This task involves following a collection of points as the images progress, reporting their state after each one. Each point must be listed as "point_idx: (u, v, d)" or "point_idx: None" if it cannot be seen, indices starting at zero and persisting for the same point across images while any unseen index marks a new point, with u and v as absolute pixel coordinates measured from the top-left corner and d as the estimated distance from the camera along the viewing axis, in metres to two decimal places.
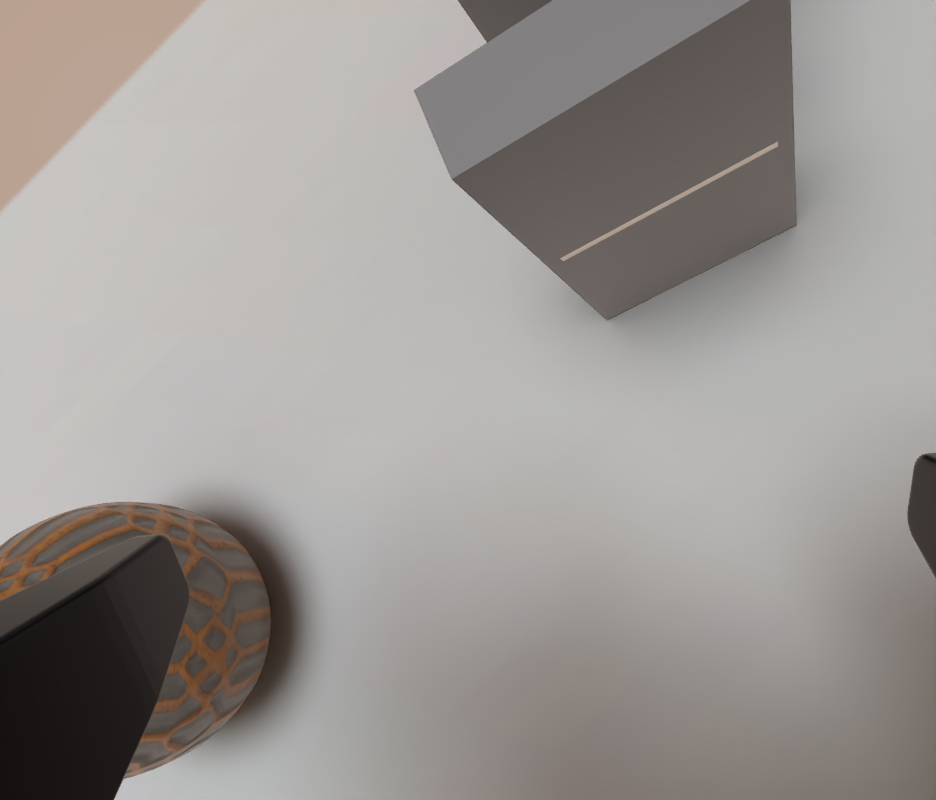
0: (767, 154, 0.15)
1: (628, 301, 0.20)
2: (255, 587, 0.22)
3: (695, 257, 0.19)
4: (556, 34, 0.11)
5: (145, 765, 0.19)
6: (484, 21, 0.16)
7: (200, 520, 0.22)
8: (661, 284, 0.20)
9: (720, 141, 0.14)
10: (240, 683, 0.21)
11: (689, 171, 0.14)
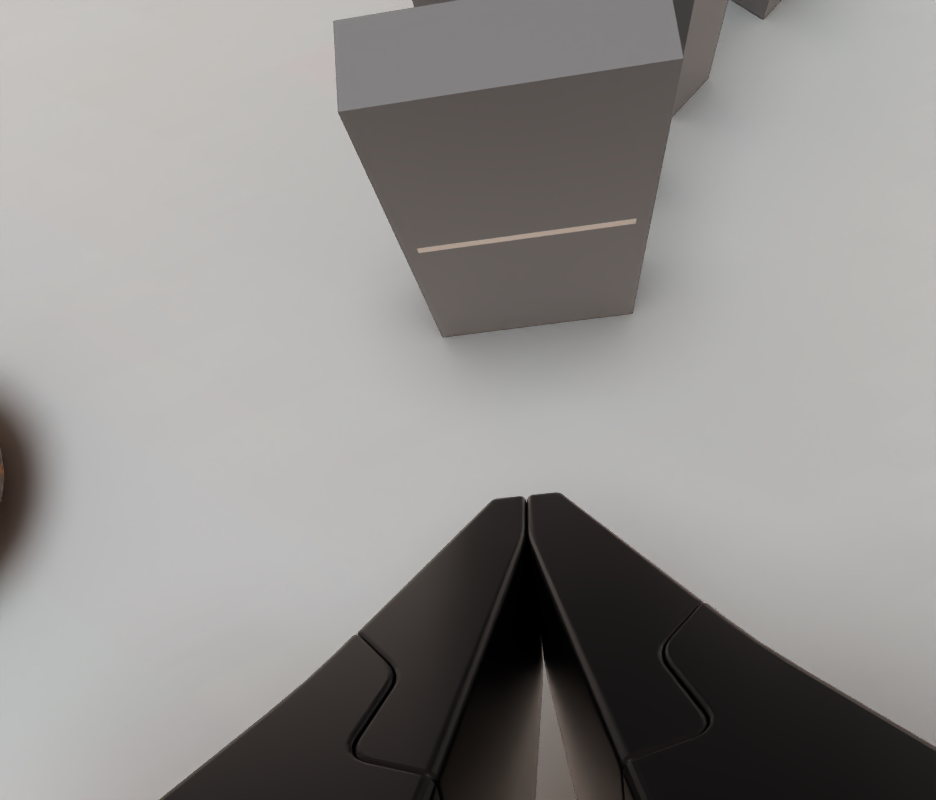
0: (625, 228, 0.16)
1: (467, 325, 0.21)
2: None
3: (539, 305, 0.20)
4: (478, 25, 0.12)
5: None
6: None
7: None
8: (501, 321, 0.21)
9: (588, 193, 0.15)
10: None
11: (555, 211, 0.15)
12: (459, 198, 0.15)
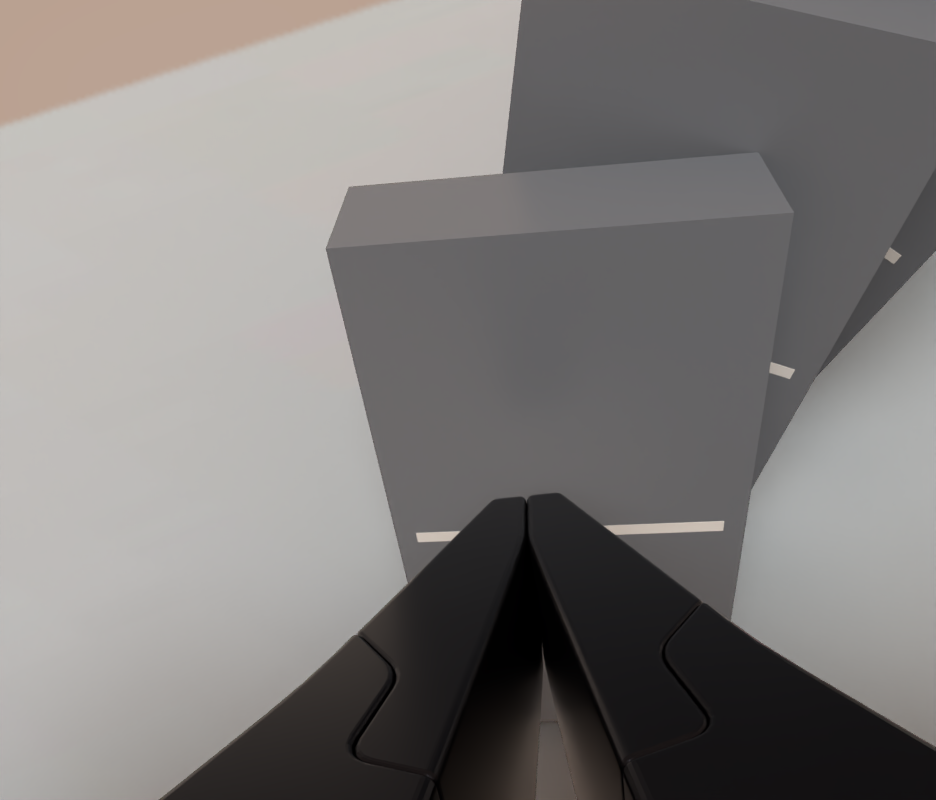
0: (708, 537, 0.12)
1: None
2: None
3: None
4: (522, 189, 0.10)
5: None
6: None
7: None
8: None
9: (658, 459, 0.11)
10: None
11: (610, 489, 0.11)
12: (479, 441, 0.11)
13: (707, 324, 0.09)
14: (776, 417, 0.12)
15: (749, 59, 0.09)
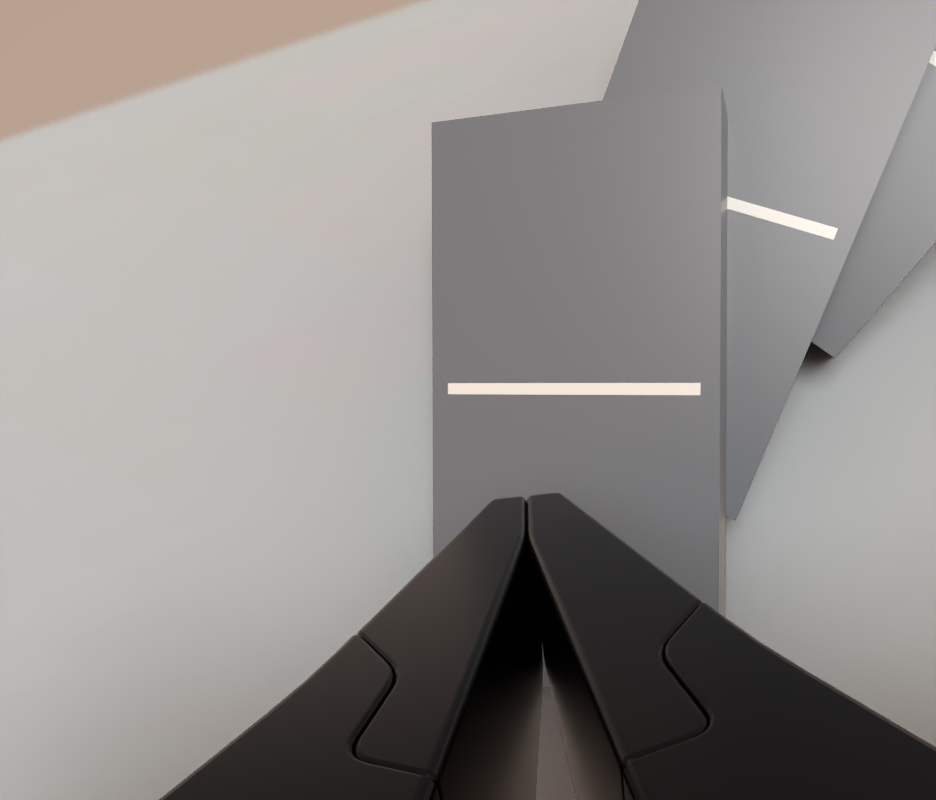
0: (687, 403, 0.13)
1: None
2: None
3: None
4: None
5: None
6: None
7: None
8: None
9: (640, 307, 0.13)
10: None
11: (602, 338, 0.14)
12: (505, 283, 0.14)
13: (670, 175, 0.13)
14: (819, 287, 0.14)
15: None
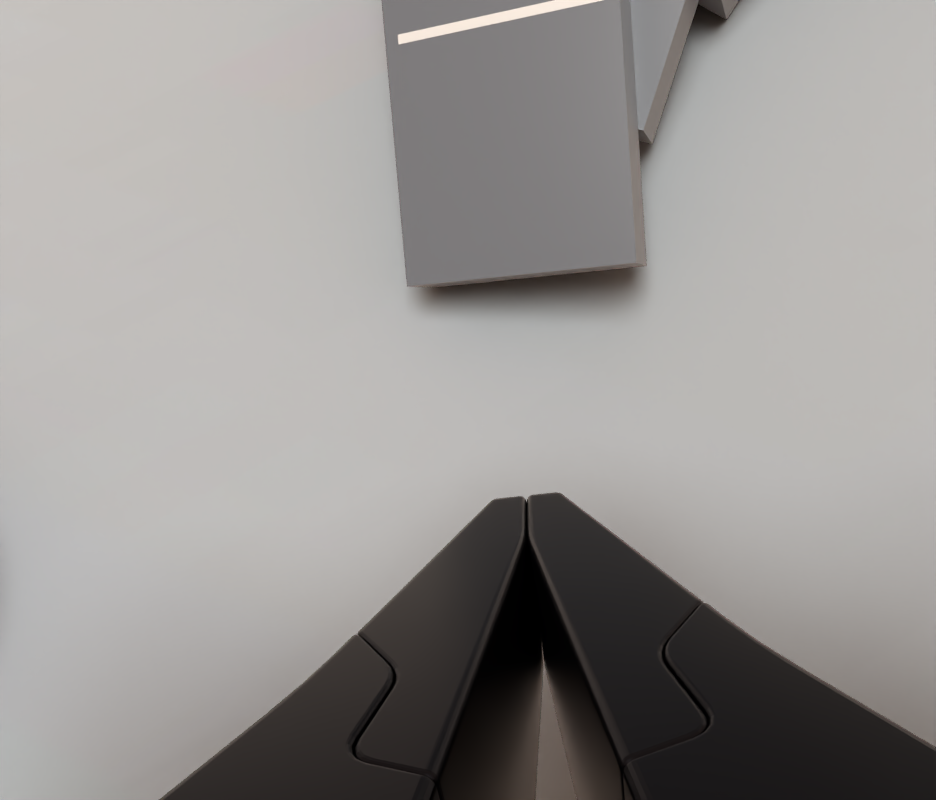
0: (594, 9, 0.16)
1: (435, 254, 0.17)
2: None
3: (516, 208, 0.17)
4: None
5: None
6: None
7: None
8: (475, 251, 0.17)
9: None
10: None
11: None
12: None
13: None
14: None
15: None
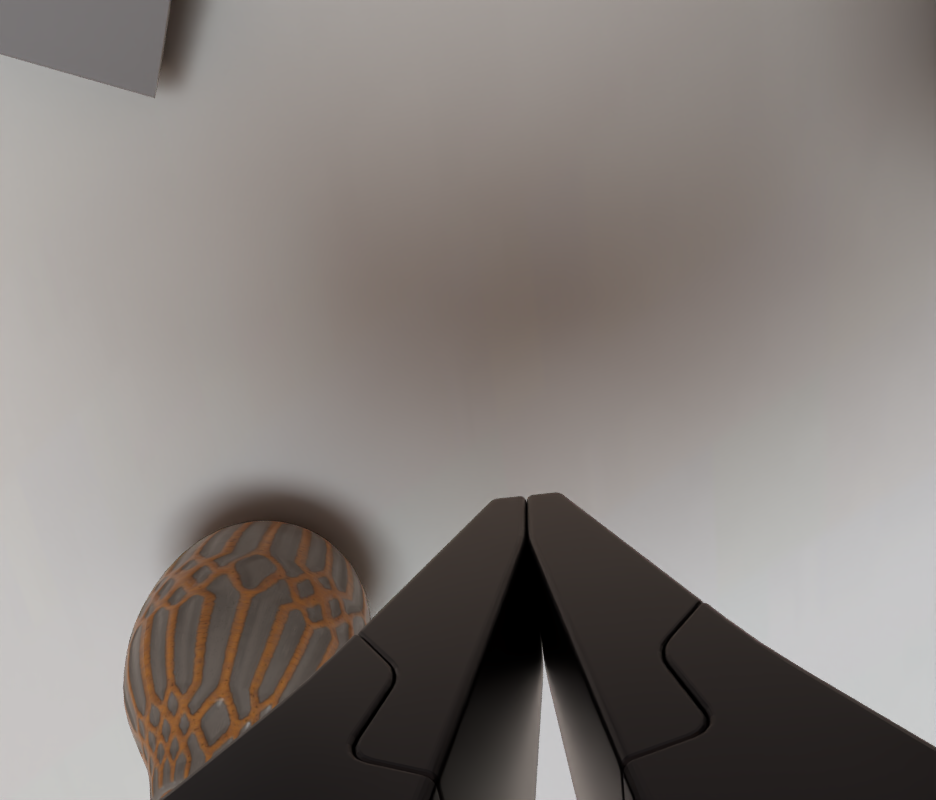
0: None
1: (130, 59, 0.18)
2: (282, 533, 0.24)
3: None
4: None
5: None
6: None
7: (200, 548, 0.23)
8: (136, 20, 0.17)
9: None
10: (348, 583, 0.24)
11: None
12: None
13: None
14: None
15: None
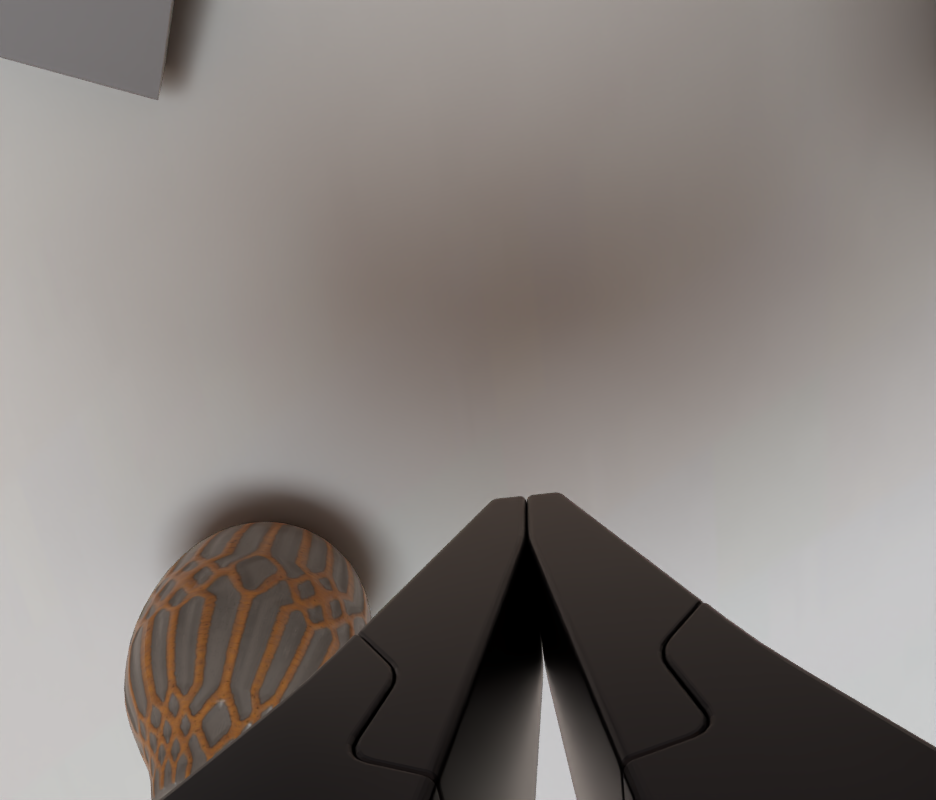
0: None
1: (133, 61, 0.18)
2: (283, 534, 0.24)
3: None
4: None
5: None
6: None
7: (201, 549, 0.23)
8: (137, 22, 0.17)
9: None
10: (348, 584, 0.24)
11: None
12: None
13: None
14: None
15: None
